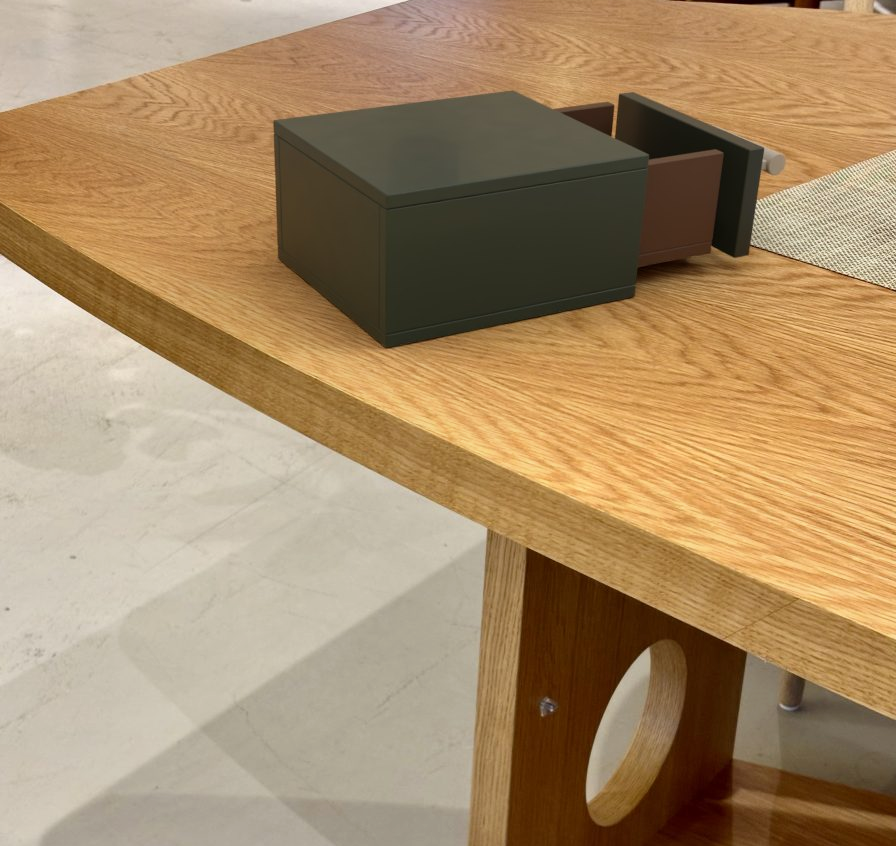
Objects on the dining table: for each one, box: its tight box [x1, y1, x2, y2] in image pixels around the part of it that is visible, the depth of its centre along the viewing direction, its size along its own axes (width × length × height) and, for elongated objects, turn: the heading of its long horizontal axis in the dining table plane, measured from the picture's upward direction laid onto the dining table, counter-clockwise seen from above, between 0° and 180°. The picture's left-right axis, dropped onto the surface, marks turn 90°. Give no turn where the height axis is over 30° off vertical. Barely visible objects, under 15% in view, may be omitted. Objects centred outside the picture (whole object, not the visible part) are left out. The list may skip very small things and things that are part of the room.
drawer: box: [553, 91, 787, 268], centre depth 88 cm, size 20×13×7 cm, turn 119°
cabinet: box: [272, 90, 649, 349], centre depth 83 cm, size 17×15×9 cm
